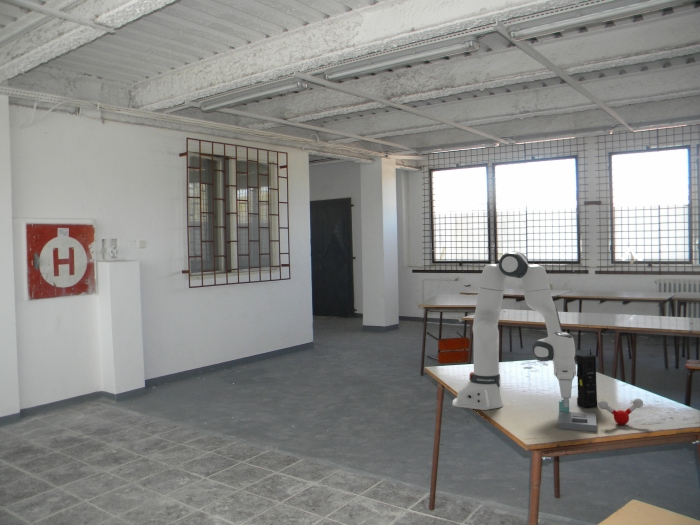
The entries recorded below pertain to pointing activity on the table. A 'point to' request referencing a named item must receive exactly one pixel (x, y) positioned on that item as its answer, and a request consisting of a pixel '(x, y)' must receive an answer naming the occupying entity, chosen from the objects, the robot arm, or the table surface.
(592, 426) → the outlet plate
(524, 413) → the table surface
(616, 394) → the table surface
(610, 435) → the table surface
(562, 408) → the block
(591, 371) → the portable radio
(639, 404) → the molecular model
